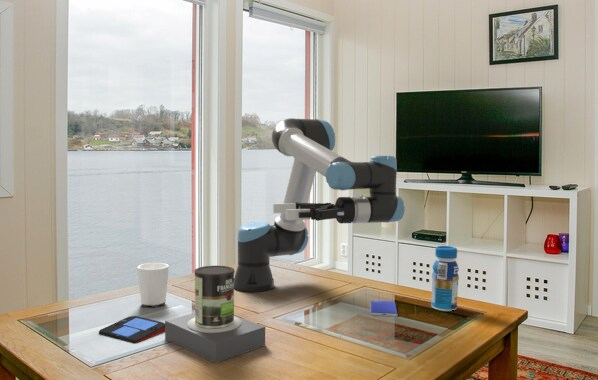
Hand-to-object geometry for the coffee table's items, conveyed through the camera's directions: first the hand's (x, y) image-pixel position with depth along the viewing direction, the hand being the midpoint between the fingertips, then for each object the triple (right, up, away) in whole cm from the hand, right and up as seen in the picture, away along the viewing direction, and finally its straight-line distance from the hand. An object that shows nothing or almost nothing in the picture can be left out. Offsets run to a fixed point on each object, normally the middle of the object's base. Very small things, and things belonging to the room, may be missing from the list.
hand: (279, 211), depth 143 cm
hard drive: (+33, -33, +25) cm, 53 cm away
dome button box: (-17, -34, -5) cm, 39 cm away
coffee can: (-17, -29, -6) cm, 34 cm away
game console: (-40, -34, +2) cm, 53 cm away
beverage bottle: (+53, -33, +28) cm, 68 cm away
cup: (-42, -31, +26) cm, 59 cm away
